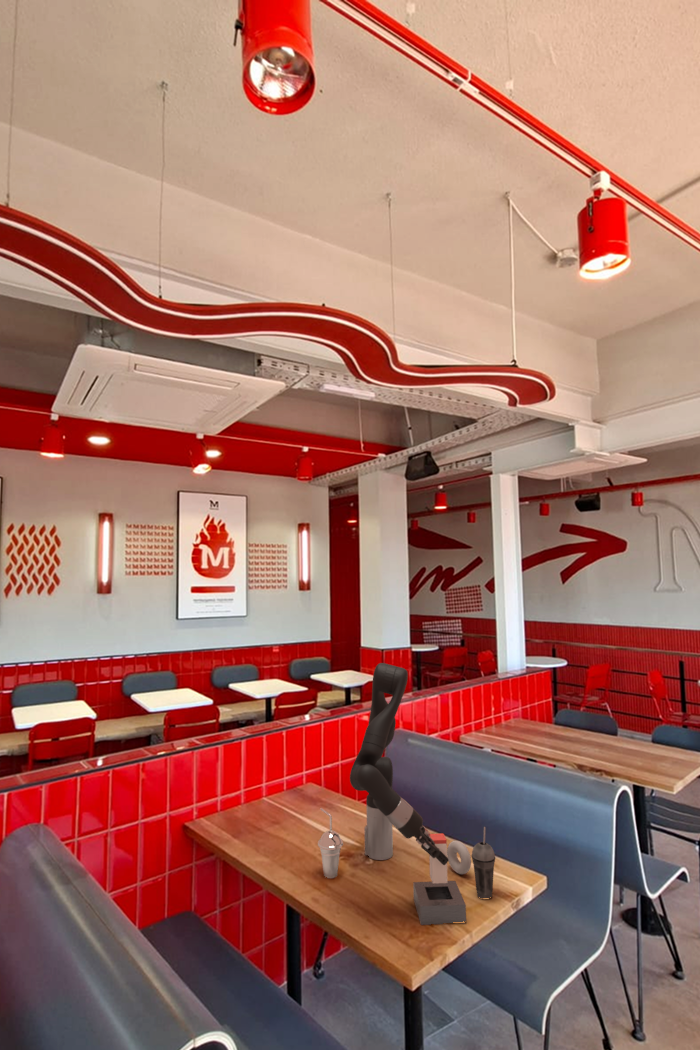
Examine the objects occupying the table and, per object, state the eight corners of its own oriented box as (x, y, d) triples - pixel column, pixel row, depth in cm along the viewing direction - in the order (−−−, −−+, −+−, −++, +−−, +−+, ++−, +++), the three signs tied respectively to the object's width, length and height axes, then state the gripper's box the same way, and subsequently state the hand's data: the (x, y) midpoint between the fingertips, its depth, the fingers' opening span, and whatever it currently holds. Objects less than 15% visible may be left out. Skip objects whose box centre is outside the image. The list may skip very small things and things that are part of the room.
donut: (473, 877, 187) (473, 845, 188) (466, 881, 185) (465, 848, 186) (452, 865, 195) (451, 834, 196) (444, 868, 193) (444, 837, 194)
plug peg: (432, 883, 167) (431, 840, 168) (429, 875, 171) (428, 833, 173) (447, 883, 167) (446, 840, 168) (444, 875, 172) (443, 833, 173)
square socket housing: (420, 924, 162) (420, 906, 162) (413, 899, 175) (413, 882, 175) (466, 923, 162) (465, 904, 163) (455, 897, 175) (455, 880, 176)
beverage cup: (467, 895, 176) (466, 828, 178) (480, 886, 182) (479, 821, 183) (488, 905, 171) (486, 835, 173) (501, 895, 176) (499, 828, 178)
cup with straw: (320, 883, 184) (320, 818, 186) (315, 869, 193) (314, 808, 195) (346, 879, 187) (345, 815, 189) (339, 866, 195) (339, 805, 197)
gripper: (416, 817, 164) (458, 860, 163) (408, 798, 178) (447, 838, 177) (398, 837, 163) (441, 880, 163) (391, 816, 177) (431, 856, 177)
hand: (444, 858), depth 170 cm, fingers closed on plug peg, 4 cm apart
